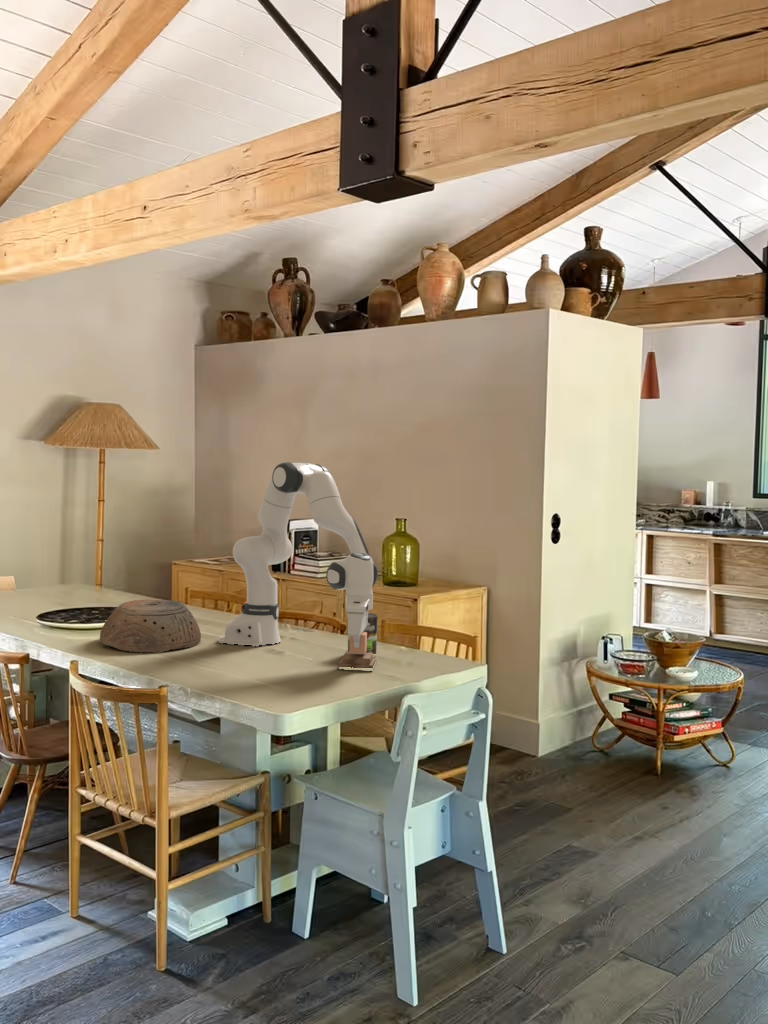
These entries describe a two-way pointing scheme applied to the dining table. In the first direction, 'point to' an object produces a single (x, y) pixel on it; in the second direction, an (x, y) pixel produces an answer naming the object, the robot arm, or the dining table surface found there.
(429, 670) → the dining table surface
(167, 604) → the ceramic artifact
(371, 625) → the coffee can
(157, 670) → the dining table surface
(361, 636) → the block
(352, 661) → the plinth
